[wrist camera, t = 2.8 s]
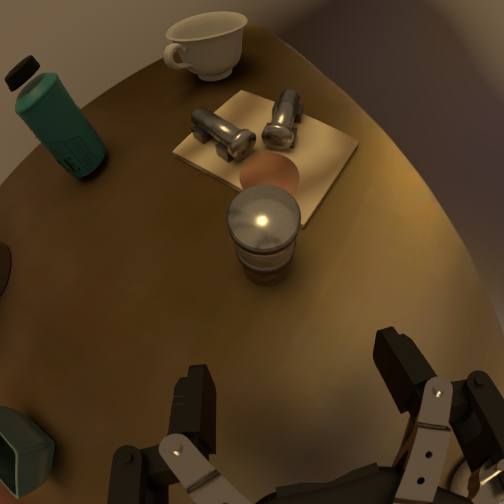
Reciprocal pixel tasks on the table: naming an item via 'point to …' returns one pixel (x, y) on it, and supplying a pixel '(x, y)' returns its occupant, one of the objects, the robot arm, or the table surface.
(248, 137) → the shaft
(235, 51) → the teacup
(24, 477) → the flower pot
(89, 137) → the beverage bottle
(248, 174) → the base board
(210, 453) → the robot arm
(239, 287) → the table surface
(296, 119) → the shaft
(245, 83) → the table surface
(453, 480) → the perfume bottle
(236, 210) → the disc
